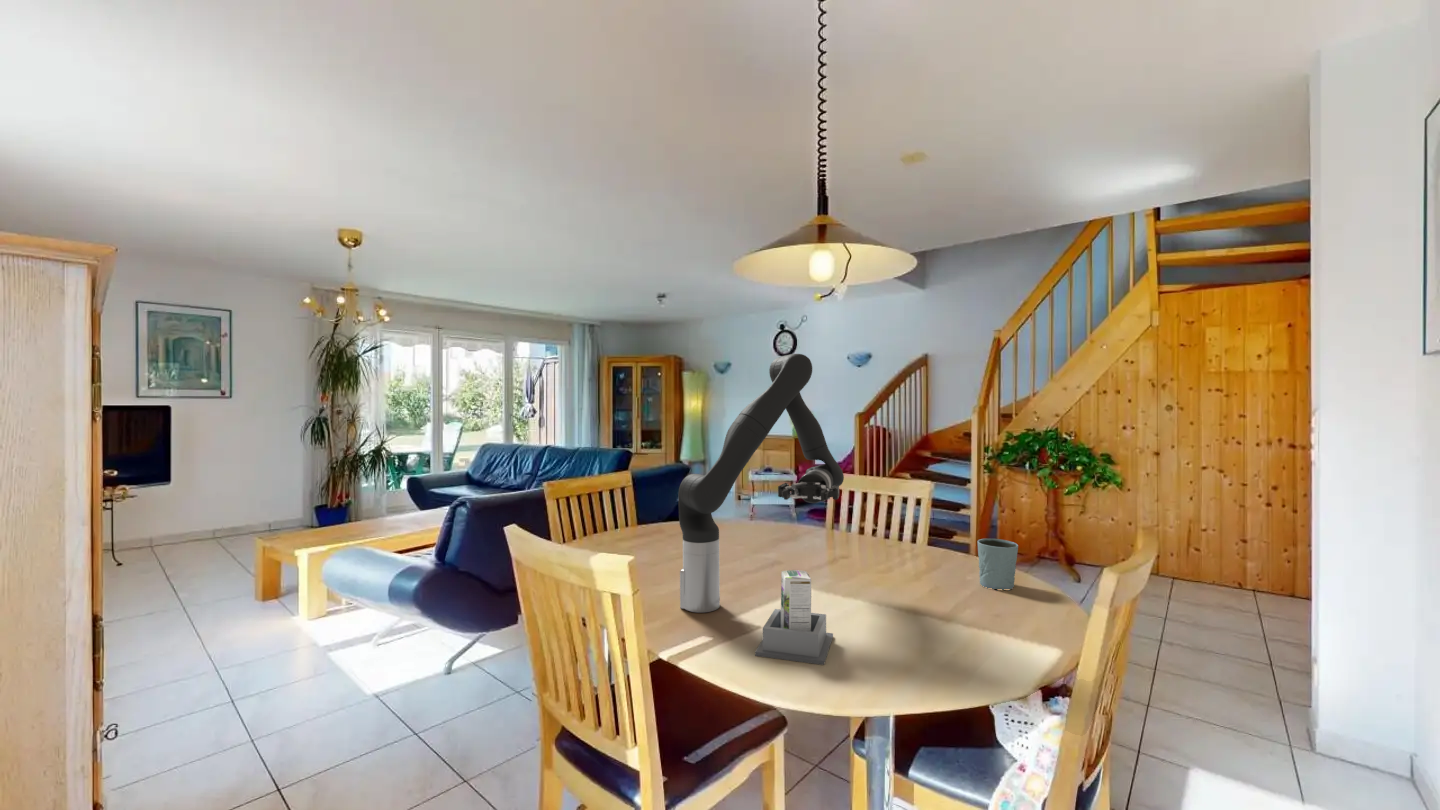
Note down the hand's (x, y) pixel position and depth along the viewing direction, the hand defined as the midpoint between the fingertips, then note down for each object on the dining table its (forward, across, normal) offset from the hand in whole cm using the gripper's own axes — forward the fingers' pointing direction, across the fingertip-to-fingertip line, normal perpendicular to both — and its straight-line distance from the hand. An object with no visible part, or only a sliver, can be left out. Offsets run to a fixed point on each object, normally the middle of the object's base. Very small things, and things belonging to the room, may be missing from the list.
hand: (803, 496), depth 134 cm
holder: (+11, 0, +30) cm, 32 cm away
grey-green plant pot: (-44, +46, +30) cm, 70 cm away
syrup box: (+11, 0, +29) cm, 31 cm away
